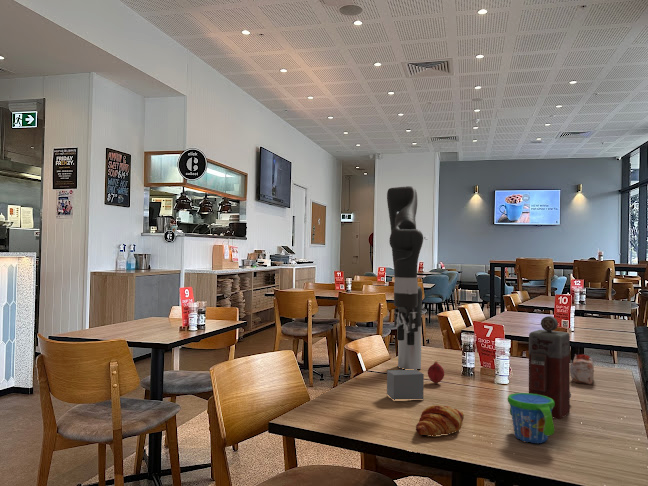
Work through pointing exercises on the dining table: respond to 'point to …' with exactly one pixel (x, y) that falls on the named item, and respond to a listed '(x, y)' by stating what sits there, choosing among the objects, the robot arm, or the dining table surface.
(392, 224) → the robot arm
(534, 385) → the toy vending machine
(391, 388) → the grey rectangular box
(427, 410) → the croissant
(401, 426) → the dining table surface
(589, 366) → the food item
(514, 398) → the snack cup
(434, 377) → the onion
